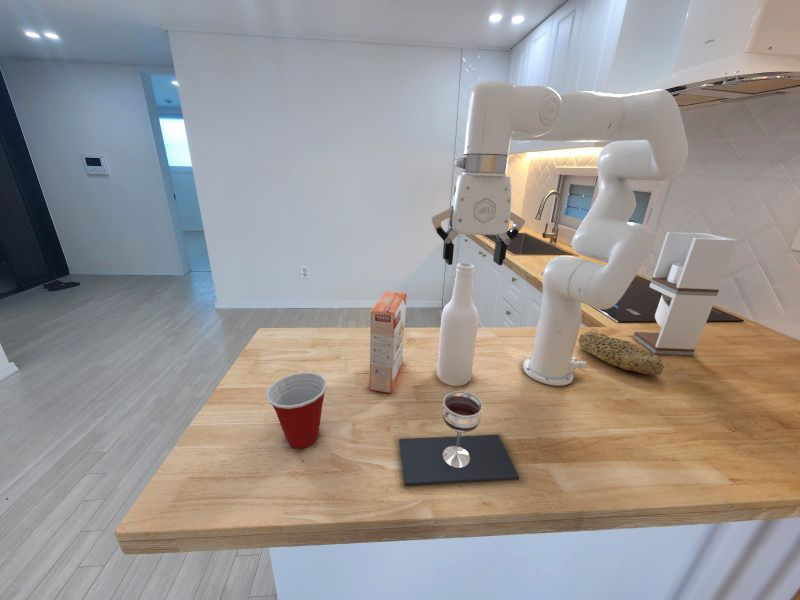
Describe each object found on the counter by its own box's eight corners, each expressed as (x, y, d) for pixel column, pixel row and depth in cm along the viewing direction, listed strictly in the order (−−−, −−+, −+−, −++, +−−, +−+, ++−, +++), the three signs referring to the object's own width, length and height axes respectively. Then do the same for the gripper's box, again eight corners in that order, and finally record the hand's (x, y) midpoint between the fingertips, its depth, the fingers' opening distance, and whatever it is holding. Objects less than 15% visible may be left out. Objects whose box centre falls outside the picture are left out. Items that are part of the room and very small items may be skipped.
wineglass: (482, 457, 62) (490, 404, 57) (460, 478, 57) (467, 423, 53) (452, 437, 66) (458, 386, 62) (430, 455, 62) (434, 402, 57)
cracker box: (393, 394, 79) (395, 313, 71) (368, 390, 80) (368, 310, 72) (404, 363, 92) (407, 291, 84) (383, 360, 93) (384, 289, 85)
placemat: (497, 436, 68) (498, 434, 67) (518, 479, 58) (519, 476, 58) (399, 441, 66) (399, 438, 65) (404, 486, 56) (404, 483, 56)
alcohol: (429, 376, 87) (438, 263, 76) (450, 363, 92) (460, 257, 81) (457, 391, 81) (471, 272, 70) (477, 377, 87) (493, 265, 76)
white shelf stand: (667, 338, 111) (705, 233, 99) (692, 355, 102) (739, 240, 89) (633, 337, 112) (667, 231, 99) (655, 353, 102) (696, 238, 89)
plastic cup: (296, 412, 72) (291, 364, 68) (340, 427, 69) (338, 377, 64) (259, 448, 63) (251, 395, 58) (308, 467, 59) (303, 412, 55)
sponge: (571, 353, 103) (632, 377, 84) (577, 328, 102) (639, 347, 83) (604, 355, 107) (669, 380, 88) (610, 332, 106) (677, 351, 87)
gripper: (439, 165, 54) (432, 268, 60) (542, 169, 55) (525, 269, 61) (431, 165, 60) (425, 257, 67) (523, 168, 62) (508, 258, 68)
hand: (473, 263), depth 64 cm, fingers open, 9 cm apart
